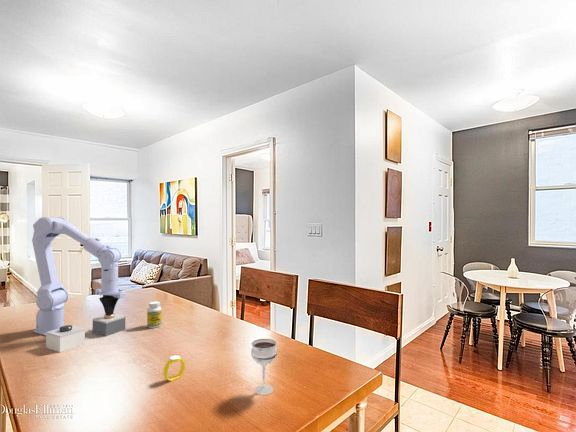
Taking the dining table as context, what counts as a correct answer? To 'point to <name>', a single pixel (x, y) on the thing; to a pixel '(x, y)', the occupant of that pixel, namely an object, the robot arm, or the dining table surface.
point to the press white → (65, 339)
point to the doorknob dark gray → (65, 328)
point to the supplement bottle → (154, 315)
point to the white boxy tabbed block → (108, 325)
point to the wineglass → (264, 360)
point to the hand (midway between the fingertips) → (109, 314)
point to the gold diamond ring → (172, 359)
